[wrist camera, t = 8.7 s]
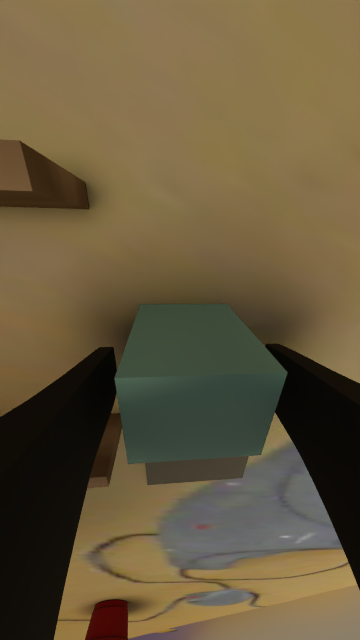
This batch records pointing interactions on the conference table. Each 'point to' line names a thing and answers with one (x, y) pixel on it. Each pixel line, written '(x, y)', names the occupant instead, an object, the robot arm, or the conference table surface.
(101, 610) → the plastic cup
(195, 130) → the conference table surface
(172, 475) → the mat
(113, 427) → the wooden fixture
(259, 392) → the block
